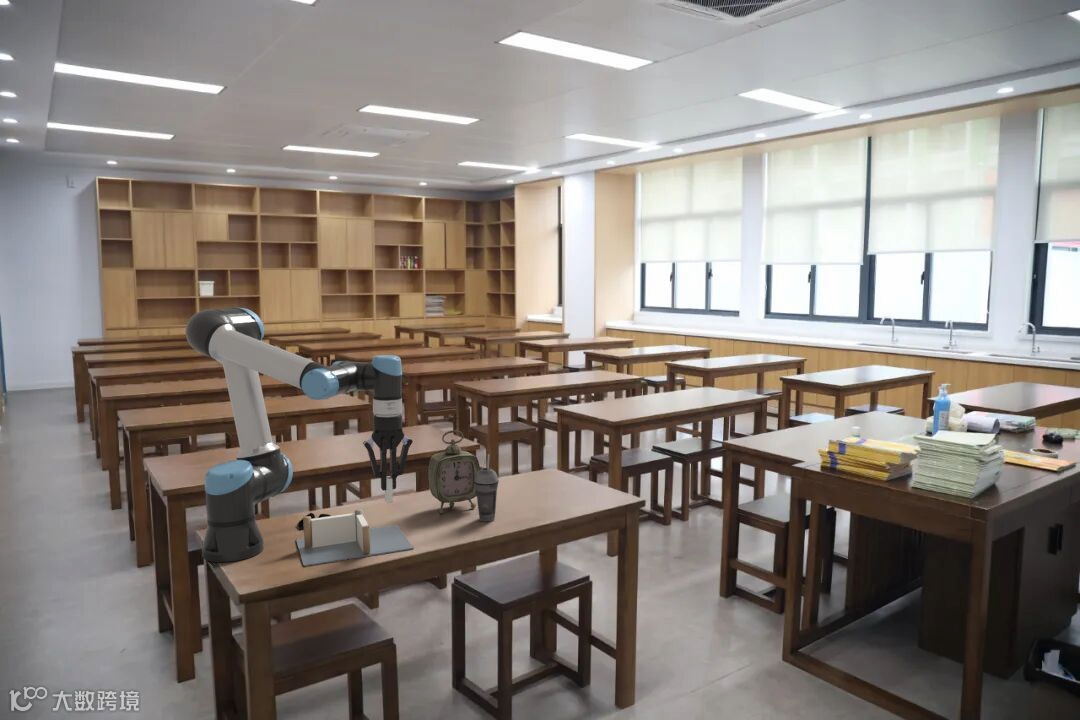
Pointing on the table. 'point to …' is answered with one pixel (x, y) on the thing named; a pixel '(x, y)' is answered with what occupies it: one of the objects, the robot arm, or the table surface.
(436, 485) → the tabletop clock
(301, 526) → the black jagged rounded shell
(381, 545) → the card
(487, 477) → the beverage cup
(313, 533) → the fixed fence section
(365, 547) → the cream upright panel
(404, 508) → the table surface
